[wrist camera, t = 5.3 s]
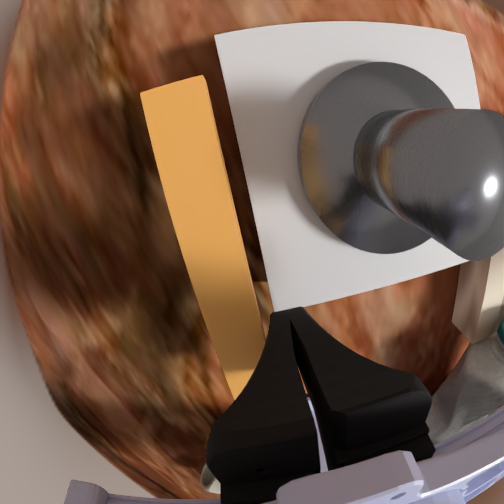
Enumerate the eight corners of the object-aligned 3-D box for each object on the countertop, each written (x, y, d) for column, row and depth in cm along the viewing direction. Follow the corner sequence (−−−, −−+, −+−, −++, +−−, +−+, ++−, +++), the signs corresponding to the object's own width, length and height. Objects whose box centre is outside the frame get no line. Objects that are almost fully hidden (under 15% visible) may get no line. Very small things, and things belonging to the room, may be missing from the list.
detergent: (439, 445, 28) (543, 286, 16) (453, 488, 21) (589, 335, 10) (349, 464, 28) (440, 291, 17) (357, 514, 21) (495, 369, 10)
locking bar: (280, 399, 15) (283, 416, 14) (243, 405, 15) (244, 422, 14) (206, 80, 9) (202, 74, 8) (150, 96, 9) (139, 92, 8)
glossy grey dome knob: (428, 213, 15) (541, 283, 7) (298, 240, 16) (362, 358, 7) (413, 74, 12) (544, 58, 4) (269, 83, 13) (321, 18, 4)
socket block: (451, 238, 16) (480, 257, 13) (267, 282, 16) (274, 313, 14) (433, 43, 12) (465, 34, 9) (218, 53, 12) (214, 35, 9)
